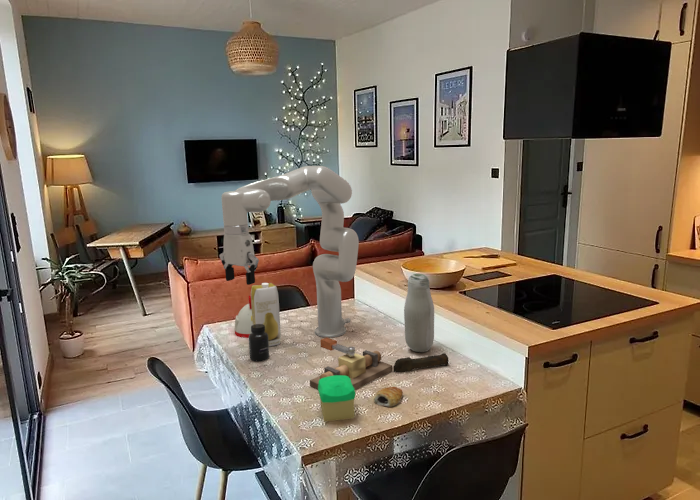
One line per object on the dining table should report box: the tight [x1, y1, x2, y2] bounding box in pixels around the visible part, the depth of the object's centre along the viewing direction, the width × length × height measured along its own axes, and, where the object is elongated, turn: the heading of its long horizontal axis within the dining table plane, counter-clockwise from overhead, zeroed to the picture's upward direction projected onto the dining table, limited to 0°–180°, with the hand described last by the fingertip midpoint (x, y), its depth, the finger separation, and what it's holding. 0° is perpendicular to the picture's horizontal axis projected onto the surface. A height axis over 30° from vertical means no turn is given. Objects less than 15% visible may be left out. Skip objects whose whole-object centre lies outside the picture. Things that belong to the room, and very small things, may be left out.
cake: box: [317, 375, 356, 422], centre depth 140 cm, size 10×11×10 cm
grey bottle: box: [403, 273, 435, 353], centre depth 180 cm, size 10×10×28 cm
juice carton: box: [250, 282, 281, 347], centre depth 191 cm, size 9×8×24 cm
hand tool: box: [392, 352, 449, 374], centre depth 168 cm, size 19×4×5 cm, turn 105°
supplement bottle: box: [248, 324, 270, 363], centre depth 179 cm, size 7×7×12 cm
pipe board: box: [309, 349, 393, 391], centre depth 161 cm, size 25×12×7 cm, turn 135°
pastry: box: [373, 386, 404, 408], centre depth 147 cm, size 9×7×4 cm
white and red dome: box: [234, 295, 253, 339], centre depth 206 cm, size 14×14×15 cm
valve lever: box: [320, 337, 356, 357], centre depth 164 cm, size 14×3×3 cm, turn 45°
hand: (240, 281), depth 167 cm, fingers open, 9 cm apart
